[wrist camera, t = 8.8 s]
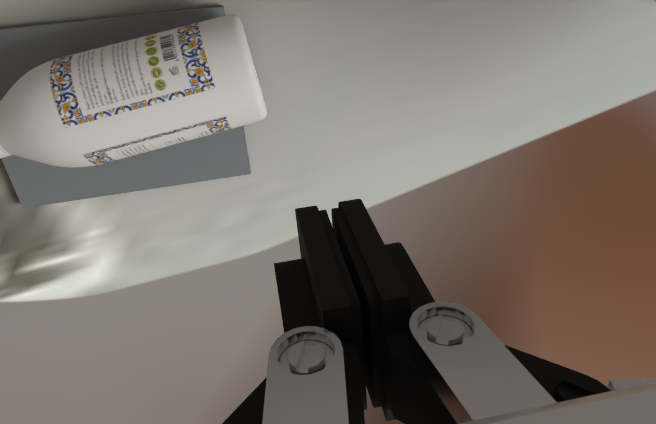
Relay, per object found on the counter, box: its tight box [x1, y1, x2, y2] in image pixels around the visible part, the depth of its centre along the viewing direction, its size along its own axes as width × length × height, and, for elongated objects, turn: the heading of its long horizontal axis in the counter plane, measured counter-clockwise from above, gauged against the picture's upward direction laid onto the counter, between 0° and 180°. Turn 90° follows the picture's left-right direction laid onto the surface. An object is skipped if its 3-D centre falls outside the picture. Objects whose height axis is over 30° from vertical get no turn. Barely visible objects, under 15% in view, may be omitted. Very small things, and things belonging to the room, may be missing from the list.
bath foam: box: [0, 15, 267, 167], centre depth 32 cm, size 7×7×20 cm
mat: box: [0, 6, 251, 208], centre depth 36 cm, size 17×13×1 cm
